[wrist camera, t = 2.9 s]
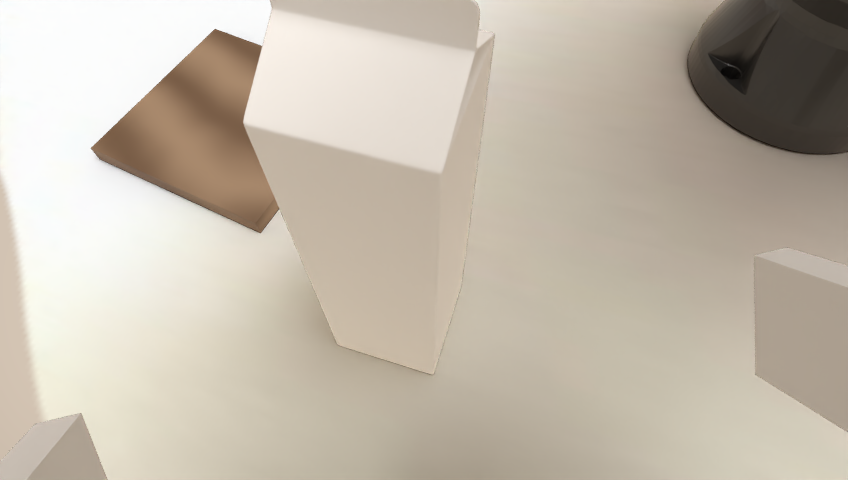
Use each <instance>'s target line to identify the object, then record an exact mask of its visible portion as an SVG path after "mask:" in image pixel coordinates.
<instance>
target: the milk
mask: <svg viewBox="0 0 848 480" xmlns="http://www.w3.org/2000/svg"><path fill="white" fill-rule="evenodd" d="M270 2H271V6H272V11H271V15H270V18H269V22H268V26H267V30H266V34H265V38H264V41H263V45H262V49H261V53H260V57H259V61H258V64H257V68H256V72H255V76H254V80H253V84H252V88H251V91H250V95H249V99H248V103H247V107H246V111H245V115H244V120H243V124H244V127H245V129H246V132H247V134H248V136H249V139H250V141H251V143H252V146H253V148H254V150H255V153H256V155H257V157H258V160H259V162H260V164H261V167H262V169H263V171H264V174H265V176H266V178H267V181H268V183H269V185H270V188H271V190H272V192H273V195H274V197H275V199H276V202H277V204H278V207H279V209H280V211H281V214H282V216H283V218H284V221H285V223H286V225H287V228H288V230H289V232H290V235H291V237H292V239H293V242H294V244H295V246H296V249H297V251H298V253H299V256H300V258H301V260H302V263H303V265H304V267H305V270H306V272H307V275H308V277H309V279H310V282H311V284H312V286H313V289H314V291H315V293H316V296H317V298H318V300H319V303H320V305H321V307H322V310H323V312H324V314H325V317H326V319H327V321H328V324H329V326H330V328H331V331H332V333H333V335H334V338H335V340H336V342H337V344H338V345H339V346H342V347H345V348H348V349H352V350H355V351H358V352H361V353H364V354H368V355H371V356H374V357H377V358H380V359H383V360H387V361H390V362H393V363H396V364H399V365H402V366H406V367H409V368H412V369H415V370H418V371H421V372H425V373H428V374H431V375H433V374H434V372H435V369H436V366H437V363H438V360H439V356H440V353H441V350H442V347H443V344H444V341H445V337H446V334H447V331H448V328H449V325H450V321H451V318H452V315H453V312H454V309H455V305H456V302H457V299H458V296H459V293H460V289H461V286H462V279H463V271H464V264H465V256H466V249H467V241H468V234H469V226H470V219H471V211H472V204H473V196H474V189H475V181H476V174H477V166H478V159H479V151H480V143H481V136H482V128H483V121H484V113H485V106H486V98H487V91H488V83H489V76H490V68H491V61H492V53H493V46H494V38H495V34H494V33H493V32H489V31H484V30H479V20H480V9H479V6H478V4H477V2H476V1H475V0H270Z"/></svg>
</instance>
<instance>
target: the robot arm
mask: <svg viewBox="0 0 848 480" xmlns="http://www.w3.org/2000/svg"><path fill="white" fill-rule="evenodd" d="M688 69H689V74H690V78H691V80H692V83H693V85H694V87H695V89H696V91H697V92H698V94H699V95H700V97H701V98H702V99H703V101H704V102H705V103H706V104H707V105H708V106H709V107H710V108H711V109H712V110H713V111H714V112H715V113H716V114H717V115H718V116H719V117H721V118H722V119H723V120H724V121H726V122H727V123H728V124H730V125H731V126H733V127H734V128H736V129H738V130H740V131H741V132H743V133H745V134H747V135H749V136H751V137H753V138H755V139H757V140H760V141H762V142H765V143H768V144H770V145H773V146H777V147H780V148H784V149H788V150H792V151H798V152H804V153H816V154H830V153H840V152H846V151H848V0H725V1H724V2H723V3H722V4H721V5H720V6H719V7H718V8H717V9H716V10H714V11H713V12H712V14H711V15H710V16H709V17H708V18H707V20H706V21H705V22H704V24H703V26H702V27H701V29H700V31H699V33H698V35H697V37H696V39H695V41H694V43H693V44H692V47H691V49H690V52H689V56H688ZM754 304H755V375H757V376H758V377H760V378H762V379H763V380H765V381H766V382H768V383H770V384H771V385H773V386H774V387H776V388H778V389H779V390H781V391H782V392H784V393H786V394H787V395H789V396H790V397H792V398H794V399H795V400H797V401H798V402H800V403H802V404H803V405H805V406H806V407H808V408H810V409H811V410H813V411H814V412H816V413H818V414H819V415H821V416H822V417H824V418H826V419H827V420H829V421H830V422H832V423H834V424H835V425H837V426H839V427H840V428H842V429H843V430H845V431H847V432H848V265H844V264H841V263H838V262H834V261H831V260H828V259H825V258H821V257H818V256H815V255H811V254H808V253H805V252H801V251H798V250H795V249H791V248H788V247H787V248H782V249H778V250H774V251H770V252H765V253H761V254H757V255H754ZM0 480H107V477H106V475H105V472H104V470H103V467H102V465H101V462H100V459H99V457H98V454H97V452H96V449H95V447H94V444H93V442H92V439H91V436H90V434H89V431H88V429H87V426H86V424H85V421H84V419H83V416H82V413H79V414H75V415H71V416H66V417H62V418H58V419H54V420H49V421H45V422H41V423H37V424H35V425H34V426H33V427H32V428H31V429H30V430H29V431H28V432H27V433H26V434H25V435H24V436H23V437H22V439H21V440H19V442H18V443H17V444H16V445H15V446H14V447H13V448H12V449H11V450H10V451H9V452H8V453H7V454H6V455H5V456H4V457H3V458H2V460H1V461H0Z"/></svg>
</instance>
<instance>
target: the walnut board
mask: <svg viewBox="0 0 848 480" xmlns="http://www.w3.org/2000/svg"><path fill="white" fill-rule="evenodd" d="M261 49H262V46H260V45H258V44H255V43H252V42H249V41H247V40H244V39H241V38H238V37H236V36H233V35H230V34H227V33H225V32H222V31H219V30H216V29H214V30H213V31H212V32H211V33H210V34H209V35H208V36H207V37H206V38H205V39H204V40H203V41H202V42H201V43H200V44H199V45H198V46H197V47H196V48H195V49H194V50H193V51H192V52H191V53H189V54H188V55H187V56H186V57H185V58H184V59H183V60H182V61H181V62H180V63H179V64H178V65H177V66H176V67H175V68H174V69H173V70H172V71H171V72H170V73H169V74H168V75H167V76H165V77H164V78H163V79H162V80H161V81H160V82H159V83H158V84H157V85H156V86H155V87H154V88H153V89H152V90H151V91H150V92H149V93H148V94H147V95H146V96H145V97H144V98H143V99H142V100H140V101H139V102H138V103H137V104H136V105H135V106H134V107H133V108H132V109H131V110H130V111H129V112H128V113H127V114H126V115H125V116H124V117H123V118H122V119H121V120H120V121H119V122H118V123H117V124H115V125H114V126H113V127H112V128H111V129H110V130H109V131H108V132H107V133H106V134H105V135H104V136H103V137H102V138H101V139H100V140H99V141H98V142H97V143H96V144H95V145H94V146H93V147H92V148H91V149H92V150H93V152H94V153H95V154H96V155H97V156H98V158H99V159H101V160H103V161H105V162H107V163H109V164H111V165H114V166H116V167H118V168H120V169H122V170H124V171H127V172H129V173H131V174H133V175H135V176H138V177H140V178H142V179H144V180H146V181H148V182H151V183H153V184H155V185H157V186H159V187H161V188H164V189H166V190H168V191H170V192H172V193H175V194H177V195H179V196H181V197H183V198H185V199H188V200H190V201H192V202H194V203H196V204H198V205H201V206H203V207H205V208H207V209H209V210H212V211H214V212H216V213H218V214H220V215H222V216H225V217H227V218H229V219H231V220H233V221H235V222H238V223H240V224H242V225H244V226H246V227H249V228H251V229H253V230H255V231H257V232H259V233H261V232H262V231H263V229H264V228H265V227H266V225H267V224H268V223H269V221H270V220H271V219H272V217H273V216H274V215H275V213H276V212H277V211H278V209H279V207H278V204H277V202H276V199H275V197H274V195H273V192H272V190H271V188H270V185H269V183H268V181H267V178H266V176H265V174H264V171H263V169H262V167H261V164H260V162H259V160H258V157H257V155H256V153H255V150H254V148H253V146H252V143H251V141H250V139H249V136H248V134H247V132H246V129H245V127H244V124H243V120H244V115H245V111H246V107H247V103H248V99H249V95H250V91H251V88H252V84H253V80H254V76H255V72H256V68H257V64H258V61H259V57H260V53H261Z"/></svg>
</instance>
